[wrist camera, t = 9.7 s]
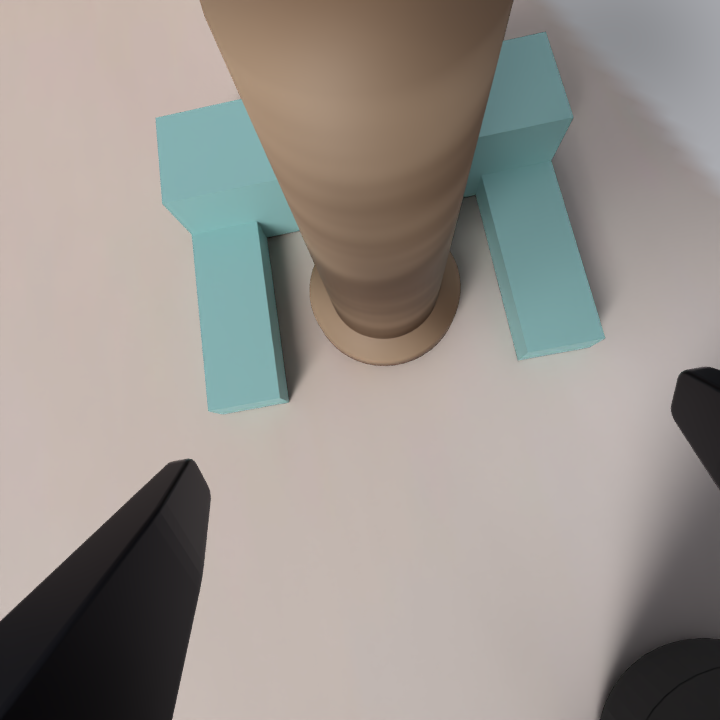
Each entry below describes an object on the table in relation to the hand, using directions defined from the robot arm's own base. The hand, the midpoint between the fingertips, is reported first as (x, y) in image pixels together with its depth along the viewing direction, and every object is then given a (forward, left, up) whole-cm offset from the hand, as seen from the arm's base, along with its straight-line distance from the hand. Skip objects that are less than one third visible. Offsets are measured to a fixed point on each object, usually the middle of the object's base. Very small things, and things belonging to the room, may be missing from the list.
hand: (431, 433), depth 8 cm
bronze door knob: (+7, +1, -10) cm, 12 cm away
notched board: (+9, +2, -10) cm, 14 cm away
